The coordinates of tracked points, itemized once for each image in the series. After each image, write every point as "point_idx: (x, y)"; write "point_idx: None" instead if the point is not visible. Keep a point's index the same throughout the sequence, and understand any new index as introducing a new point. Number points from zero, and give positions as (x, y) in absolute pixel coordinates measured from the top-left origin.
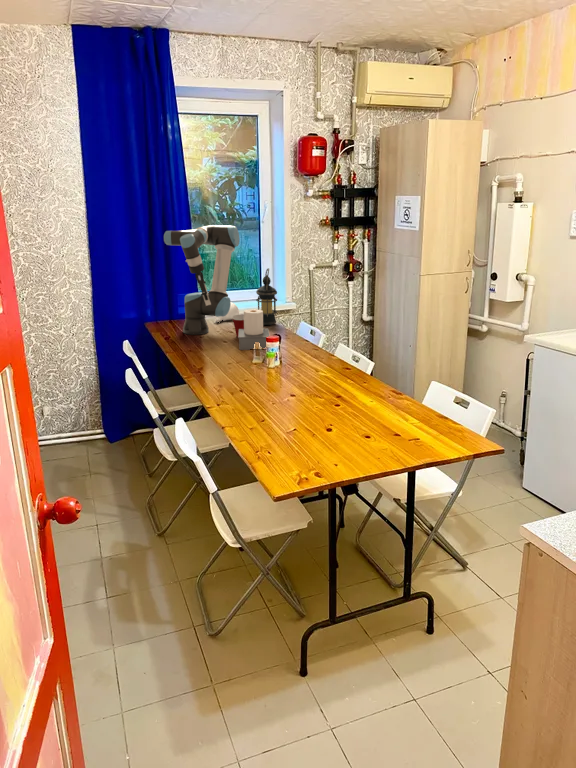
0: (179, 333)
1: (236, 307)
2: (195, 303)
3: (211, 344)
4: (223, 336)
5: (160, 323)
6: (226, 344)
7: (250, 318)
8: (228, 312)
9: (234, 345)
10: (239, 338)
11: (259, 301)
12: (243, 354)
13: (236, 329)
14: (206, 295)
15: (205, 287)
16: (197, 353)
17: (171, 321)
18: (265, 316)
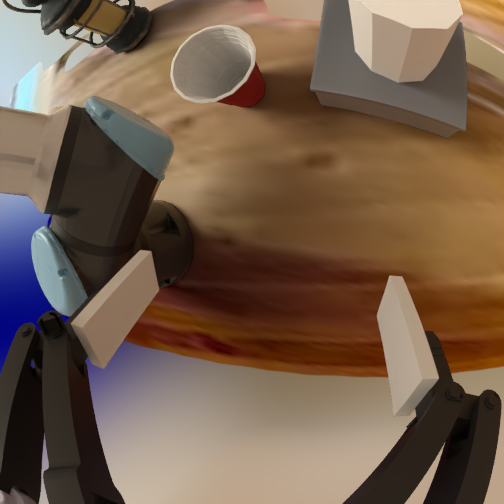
0: (167, 296)
1: (52, 111)
2: (100, 276)
3: (343, 223)
4: (232, 154)
5: None
6: (359, 164)
7: (452, 31)
8: None
9: (381, 136)
10: (463, 127)
11: (88, 21)
12: (499, 146)
13: (247, 98)
14: (450, 378)
15: (106, 308)
16: (444, 302)
17: None
18: (130, 21)
